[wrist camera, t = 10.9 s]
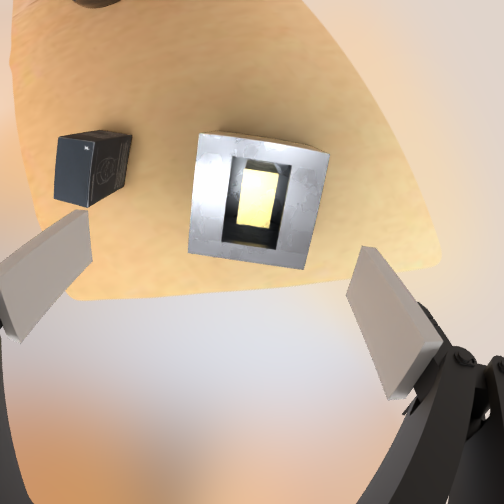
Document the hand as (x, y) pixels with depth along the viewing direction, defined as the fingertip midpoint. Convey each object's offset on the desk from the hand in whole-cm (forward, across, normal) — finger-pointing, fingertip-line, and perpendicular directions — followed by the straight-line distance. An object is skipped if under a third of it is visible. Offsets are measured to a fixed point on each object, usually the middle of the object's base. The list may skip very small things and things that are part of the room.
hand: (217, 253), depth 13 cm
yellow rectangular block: (+26, +2, -2) cm, 26 cm away
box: (+27, -19, -1) cm, 33 cm away
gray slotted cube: (+27, +2, -2) cm, 27 cm away
